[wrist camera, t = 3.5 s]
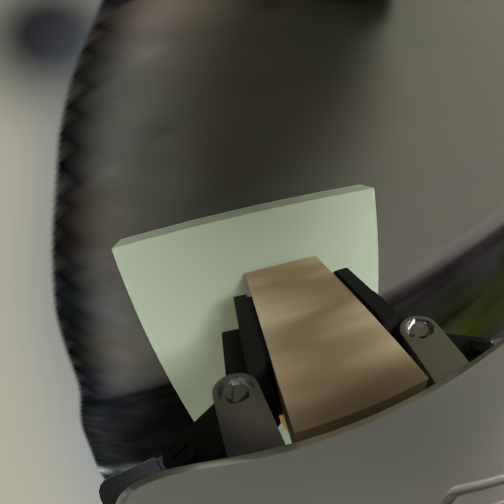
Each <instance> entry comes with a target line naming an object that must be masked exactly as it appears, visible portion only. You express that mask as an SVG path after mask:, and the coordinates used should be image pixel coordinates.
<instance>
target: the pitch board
mask: <svg viewBox="0 0 504 504" xmlns="http://www.w3.org/2000/svg"><path fill="white" fill-rule="evenodd" d="M112 252H113V254H114V257H115V260H116V263H117V265H118V268H119V271H120V273H121V276H122V279H123V281H124V284H125V286H126V289H127V291H128V294H129V296H130V298H131V301H132V303H133V306H134V308H135V310H136V312H137V315H138V317H139V319H140V321H141V324H142V326H143V328H144V330H145V332H146V334H147V337H148V339H149V341H150V343H151V345H152V347H153V349H154V351H155V353H156V355H157V357H158V359H159V361H160V363H161V365H162V367H163V368H164V370H165V372H166V374H167V376H168V378H169V380H170V381H171V383H172V385H173V387H174V389H175V390H176V392H177V394H178V396H179V397H180V399H181V401H182V402H183V404H184V406H185V407H186V409H187V411H188V412H189V414H190V416H191V417H192V419H193V420H194V422H195V421H196V420H197V419H198V418H199V417H200V416H201V415H202V414H203V413H204V412H205V411H206V410H207V409H208V408H209V407H210V406H211V405H212V404H213V403H214V401H213V397H212V390H213V387H214V385H215V384H216V383H217V382H218V381H219V380H220V379H221V378H223V377H225V376H226V373H225V364H224V354H223V343H222V332H225V331H230V330H234V329H238V328H239V326H238V321H237V315H236V309H235V304H234V298H233V297H235V296H240V295H244V294H247V297H250V292H249V288H248V284H247V279H246V275H245V273H247V272H251V271H256V270H260V269H264V268H268V267H272V266H276V265H280V264H284V263H288V262H292V261H296V260H300V259H304V258H308V257H312V256H317V257H318V258H319V259H320V261H321V262H322V263H323V264H324V265H325V266H326V267H327V268H328V269H329V270H330V271H331V272H332V273H334V271H336V270H339V269H343V268H348V269H349V270H350V271H352V272H353V273H354V274H355V275H356V276H357V277H358V278H359V279H360V280H361V281H363V282H364V283H365V284H366V285H367V286H368V287H369V288H370V289H371V290H372V291H374V292H376V293H377V294H378V236H377V217H376V203H375V192H374V188H372V187H368V186H364V185H361V184H359V185H353V186H347V187H342V188H336V189H331V190H326V191H321V192H316V193H310V194H305V195H301V196H296V197H291V198H286V199H281V200H276V201H272V202H267V203H263V204H258V205H254V206H249V207H245V208H240V209H236V210H232V211H227V212H223V213H219V214H215V215H211V216H207V217H203V218H199V219H195V220H191V221H187V222H183V223H179V224H175V225H171V226H167V227H164V228H160V229H156V230H152V231H149V232H145V233H141V234H138V235H134V236H131V237H127V238H124V239H120V240H119V242H118V243H117V244H116V245H115V246H114V247H113V248H112ZM278 429H279V431H280V433H281V435H282V437H283V440H284V442H285V444H286V445H288V444H292V442H291V439H290V436H289V432H288V431H287V430H286V429H285V428H284V427H283V425H282V424H280V425H279V427H278Z"/></svg>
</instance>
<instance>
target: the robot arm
mask: <svg viewBox="0 0 504 504" xmlns="http://www.w3.org/2000/svg"><path fill="white" fill-rule="evenodd" d="M333 274H334V275H335V276H336V277H337V278H338V279H339V280H340V281H341V282H342V283H343V284H344V285H345V286H346V287H347V288H348V289H349V290H350V291H351V293H352V294H353V295H354V296H355V297H356V298H357V299H358V300H359V301H360V302H361V303H362V304H363V305H364V306H365V307H366V308H367V310H368V311H369V312H370V313H371V314H372V315H373V316H374V317H375V318H376V319H377V320H378V321H379V323H380V324H381V325H382V326H383V327H384V328H385V329H386V330H387V331H388V332H389V334H390V335H391V336H392V337H393V338H394V339H395V340H396V341H397V342H398V344H399V345H400V346H401V347H402V348H403V349H404V350H405V351H406V353H407V354H408V355H409V356H410V357H411V358H412V359H413V361H414V362H415V363H416V364H417V365H418V366H419V367H420V369H421V370H422V371H423V372H424V373H425V374H426V376H427V377H428V381H427V385H426V388H425V390H423V391H421V392H419V393H418V394H416V395H414V396H412V397H410V398H408V399H406V400H404V401H402V402H400V403H398V404H396V405H394V406H392V407H390V408H387V409H385V410H383V411H381V412H379V413H376V414H374V415H372V416H369V417H367V418H365V419H362V420H360V421H357V422H355V423H352V424H350V425H347V426H344V427H342V428H339V429H336V430H333V431H330V432H327V433H324V434H321V435H318V436H315V437H312V438H309V439H306V440H302V441H299V442H295V443H292V444H288V445H286V444H285V442H284V440H283V437H282V435H281V433H280V431H279V429H278V427H279V425H280V424H281V422H280V418H279V415H283V410H282V406H281V402H280V397H279V393H278V389H277V384H276V380H275V375H274V371H273V367H272V362H271V358H270V355H269V351H268V348H267V345H266V342H265V338H264V335H263V332H262V328H261V325H260V322H259V319H258V315H257V312H256V309H255V305H254V302H253V299H252V296H251V297H247V294H244V295H240V296H235V297H233V298H234V304H235V309H236V315H237V321H238V326H239V328H238V329H234V330H230V331H225V332H222V343H223V354H224V364H225V373H226V376H225V377H223V378H221V379H220V380H219V381H218V382H217V383H216V384H215V385H214V387H213V390H212V397H213V401H214V403H213V404H212V405H211V406H210V407H209V408H208V409H207V410H206V411H205V412H204V413H203V414H202V415H201V416H200V417H199V418H198V419H197V420H196V421H195V422H193V423H192V424H191V425H190V426H189V427H188V428H187V429H186V430H185V431H184V432H183V433H181V434H180V435H179V436H178V437H177V438H176V439H175V440H174V441H172V442H171V443H170V444H169V445H168V446H167V448H166V449H165V451H164V453H163V456H162V457H160V458H158V459H155V458H154V457H153V458H151V459H149V460H147V461H145V462H143V463H141V464H138V465H136V466H134V467H132V468H130V469H128V470H125V471H123V472H121V473H118V474H116V475H114V476H111V477H109V478H107V479H106V480H104V481H103V483H102V484H101V485H100V489H99V494H100V498H101V501H102V503H103V504H504V338H501V339H494V340H491V342H490V341H489V340H487V339H485V338H481V337H474V336H464V335H455V334H447V333H444V332H443V330H442V329H441V328H440V327H439V326H438V325H437V324H436V323H435V322H434V321H433V320H432V319H430V318H428V317H424V316H413V317H410V318H407V319H404V318H402V317H401V316H400V315H399V314H398V313H397V312H396V311H395V310H394V309H393V308H392V307H391V306H390V305H389V304H388V303H387V302H386V301H384V300H383V299H382V298H381V297H380V296H379V295H378V294H377V293H376V292H374V291H372V290H371V289H370V288H369V287H368V286H367V285H366V284H365V283H364V282H363V281H361V280H360V279H359V278H358V277H357V276H356V275H355V274H354V273H353V272H352V271H350V270H349V269H348V268H343V269H339V270H336V271H334V273H333Z"/></svg>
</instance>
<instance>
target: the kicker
mask: <svg viewBox="0 0 504 504" xmlns="http://www.w3.org/2000/svg"><path fill="white" fill-rule="evenodd" d="M245 275H246V279H247V284H248V288H249V292H250V297H251V296H252V299H253V302H254V305H255V309H256V312H257V315H258V319H259V322H260V325H261V328H262V332H263V335H264V338H265V342H266V345H267V348H268V351H269V355H270V358H271V362H272V367H273V371H274V375H275V380H276V384H277V389H278V393H279V397H280V402H281V406H282V410H283V416H284V419H285V423H286V426H287V429H288V432H289V436H290V439H291V442H292V443H295V442H299V441H302V440H306V439H309V438H312V437H315V436H318V435H321V434H324V433H327V432H330V431H333V430H336V429H339V428H342V427H344V426H347V425H350V424H352V423H355V422H357V421H360V420H362V419H365V418H367V417H369V416H372V415H374V414H376V413H379V412H381V411H383V410H385V409H387V408H390V407H392V406H394V405H396V404H398V403H400V402H402V401H404V400H406V399H408V398H410V397H412V396H414V395H416V394H418V393H419V392H421V391H423V390H425V388H426V385H427V381H428V377H427V376H426V374H425V373H424V372H423V371H422V370H421V369H420V367H419V366H418V365H417V364H416V363H415V362H414V361H413V359H412V358H411V357H410V356H409V355H408V354H407V353H406V351H405V350H404V349H403V348H402V347H401V346H400V345H399V344H398V342H397V341H396V340H395V339H394V338H393V337H392V336H391V335H390V334H389V332H388V331H387V330H386V329H385V328H384V327H383V326H382V325H381V324H380V323H379V321H378V320H377V319H376V318H375V317H374V316H373V315H372V314H371V313H370V312H369V311H368V310H367V308H366V307H365V306H364V305H363V304H362V303H361V302H360V301H359V300H358V299H357V298H356V297H355V296H354V295H353V294H352V293H351V291H350V290H349V289H348V288H347V287H346V286H345V285H344V284H343V283H342V282H341V281H340V280H339V279H338V278H337V277H336V276H335V275H334V274H333V273H332V272H331V271H330V270H329V269H328V268H327V267H326V266H325V265H324V264H323V263H322V262H321V261H320V259H319V258H318V257H317V256H312V257H308V258H304V259H300V260H296V261H292V262H288V263H284V264H280V265H276V266H272V267H268V268H264V269H260V270H256V271H251V272H247V273H245Z"/></svg>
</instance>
